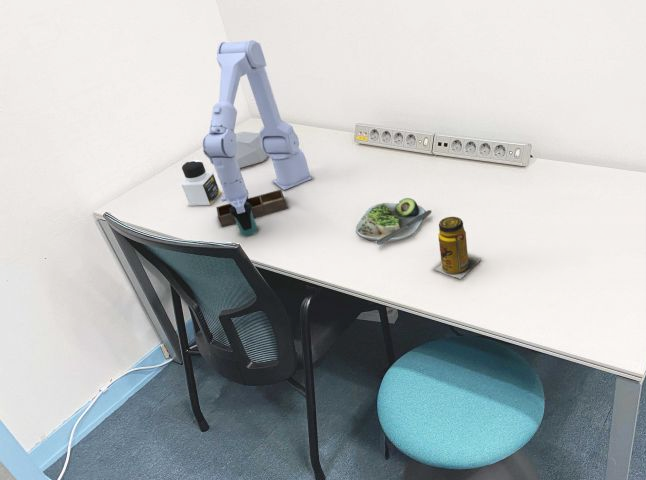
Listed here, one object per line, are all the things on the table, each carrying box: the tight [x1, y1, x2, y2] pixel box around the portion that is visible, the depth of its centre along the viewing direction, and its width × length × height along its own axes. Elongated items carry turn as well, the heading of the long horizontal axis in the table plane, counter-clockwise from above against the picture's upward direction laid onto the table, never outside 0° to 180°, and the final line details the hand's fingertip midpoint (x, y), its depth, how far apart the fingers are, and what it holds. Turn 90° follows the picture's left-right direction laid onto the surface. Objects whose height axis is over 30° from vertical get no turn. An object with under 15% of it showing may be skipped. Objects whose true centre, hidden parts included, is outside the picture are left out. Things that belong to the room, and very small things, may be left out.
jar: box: [232, 202, 258, 237], centre depth 161 cm, size 5×5×8 cm
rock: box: [235, 131, 269, 169], centre depth 199 cm, size 18×20×10 cm
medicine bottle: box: [181, 159, 221, 207], centre depth 178 cm, size 7×7×12 cm
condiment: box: [433, 216, 482, 280], centre depth 135 cm, size 7×8×12 cm
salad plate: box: [355, 197, 432, 246], centre depth 153 cm, size 19×18×5 cm
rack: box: [215, 189, 288, 228], centre depth 171 cm, size 19×7×3 cm, turn 108°
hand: (246, 224), depth 162 cm, fingers closed on jar, 4 cm apart
